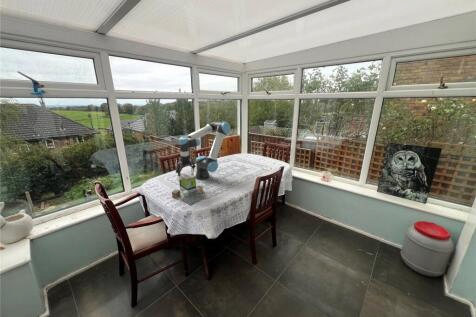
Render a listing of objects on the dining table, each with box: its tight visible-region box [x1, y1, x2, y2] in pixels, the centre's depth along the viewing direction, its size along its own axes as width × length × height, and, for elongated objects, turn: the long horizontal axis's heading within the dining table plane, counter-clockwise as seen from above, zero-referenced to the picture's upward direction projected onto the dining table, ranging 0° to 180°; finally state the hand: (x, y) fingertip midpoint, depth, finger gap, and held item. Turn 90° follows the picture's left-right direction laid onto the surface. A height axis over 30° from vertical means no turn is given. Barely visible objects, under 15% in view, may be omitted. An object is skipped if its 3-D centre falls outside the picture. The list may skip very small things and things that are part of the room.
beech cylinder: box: [196, 184, 204, 195], centre depth 171 cm, size 5×5×6 cm
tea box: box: [178, 172, 197, 195], centre depth 174 cm, size 15×10×15 cm
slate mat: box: [180, 191, 206, 206], centre depth 161 cm, size 16×14×1 cm
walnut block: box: [171, 189, 181, 199], centre depth 164 cm, size 5×5×5 cm
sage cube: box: [182, 190, 190, 197], centre depth 166 cm, size 4×4×4 cm
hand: (186, 177), depth 172 cm, fingers open, 13 cm apart
